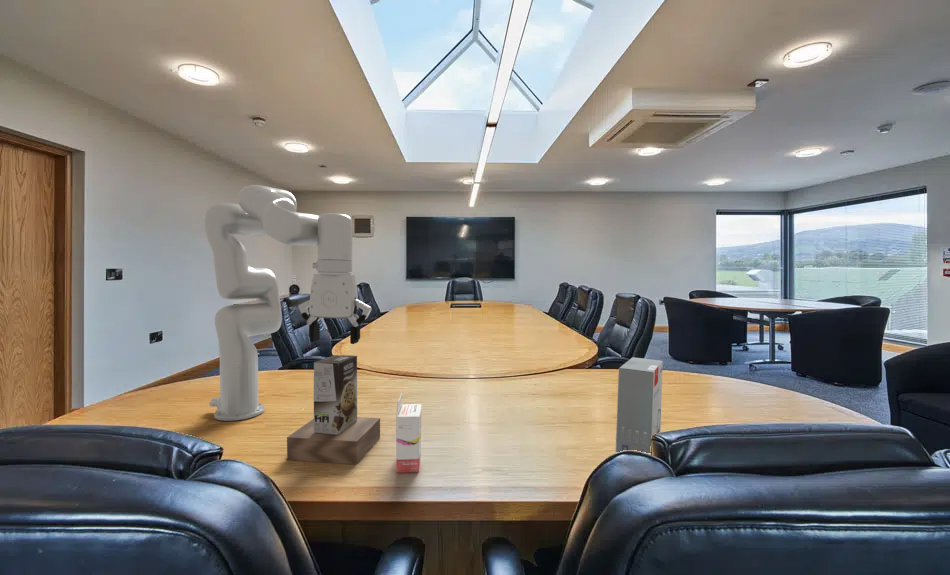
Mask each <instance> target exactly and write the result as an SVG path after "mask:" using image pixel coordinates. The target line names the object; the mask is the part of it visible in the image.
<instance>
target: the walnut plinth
mask: <svg viewBox="0 0 950 575" xmlns="http://www.w3.org/2000/svg"><path fill="white" fill-rule="evenodd" d="M380 439H381V418H380V417H367V416H366V417H365V416H364V417H362V416H357V421H356V422H355V423H354V424H352V425H351V426H350V427H348V428H347V429H346V430H344V431H343V432H341V433H340V434H339V435H333V434H323V433H314V418H313V419H311V420H310V421H308V422H307V423H305V424H304V425H303V426H301V427H300V428H298V429H297V430H295V431H294V432H293V433H291V434H290V435H288V436H287V437H286V458H287V460H288V461H300V462H317V463H331V464H332V463H333V464H346V465H347V464H348V465H358V464H359V463H360V462H361V461H362V459H363V458H364V457H365V456H366V455H367V454H368V452H369V451H370V450H371V449H372V448H373V447H374V446H375V444H377V442H378V441H380ZM373 445H374V446H373Z"/></svg>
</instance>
